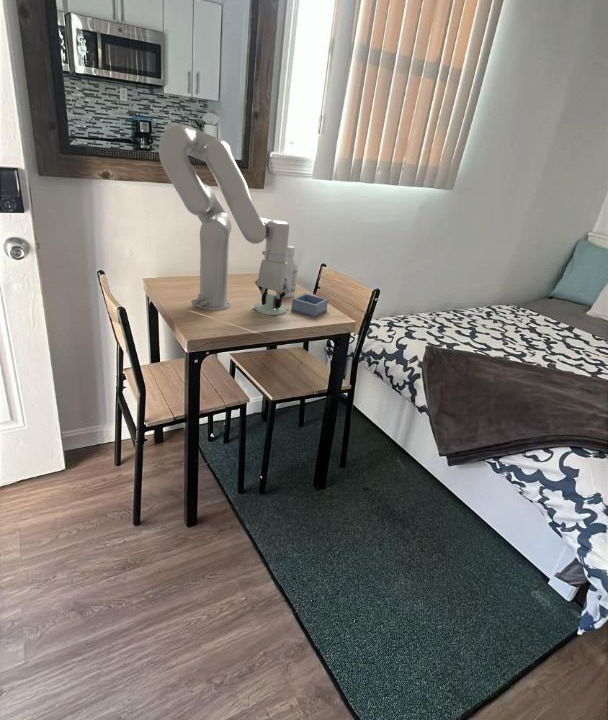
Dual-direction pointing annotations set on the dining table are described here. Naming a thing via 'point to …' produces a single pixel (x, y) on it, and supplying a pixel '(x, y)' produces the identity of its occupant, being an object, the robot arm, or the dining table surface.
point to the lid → (270, 306)
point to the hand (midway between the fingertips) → (271, 305)
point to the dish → (309, 305)
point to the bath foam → (291, 271)
